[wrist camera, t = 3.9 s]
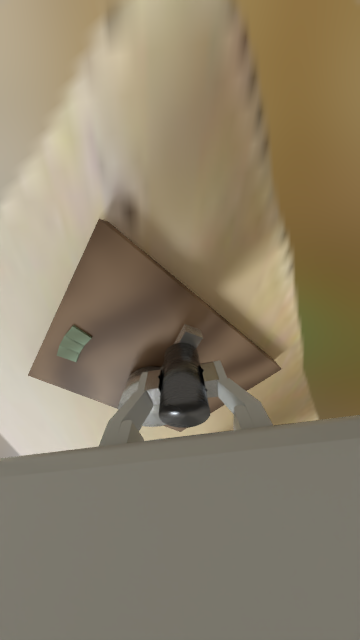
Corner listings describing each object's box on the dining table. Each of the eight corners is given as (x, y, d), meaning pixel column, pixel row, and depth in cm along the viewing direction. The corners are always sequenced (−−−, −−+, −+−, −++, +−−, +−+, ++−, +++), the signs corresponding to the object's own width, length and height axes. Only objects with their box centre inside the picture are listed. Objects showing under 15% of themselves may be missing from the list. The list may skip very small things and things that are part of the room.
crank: (169, 406, 20) (166, 480, 14) (121, 395, 18) (92, 473, 12) (221, 332, 14) (260, 404, 8) (157, 307, 12) (138, 370, 6)
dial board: (274, 360, 19) (282, 370, 17) (180, 422, 26) (180, 433, 24) (108, 222, 11) (97, 218, 9) (38, 365, 18) (26, 376, 16)
